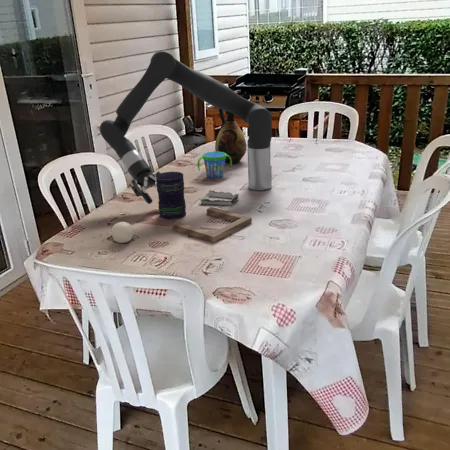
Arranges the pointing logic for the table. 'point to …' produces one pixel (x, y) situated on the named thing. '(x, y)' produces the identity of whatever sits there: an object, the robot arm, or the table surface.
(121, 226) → the white egg
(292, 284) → the table surface
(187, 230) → the walnut bay
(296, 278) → the table surface
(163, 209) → the dark blue ridged cylinder
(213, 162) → the snack cup
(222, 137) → the ceramic jug
